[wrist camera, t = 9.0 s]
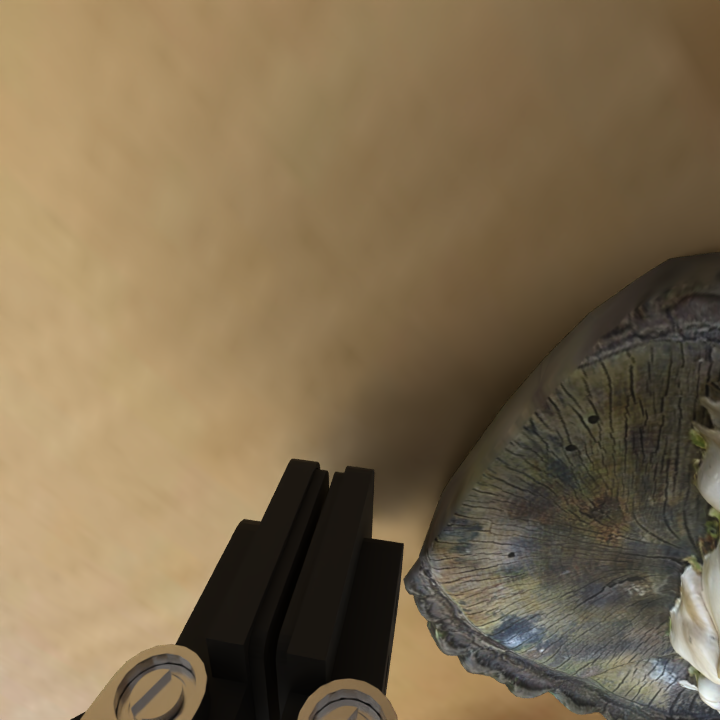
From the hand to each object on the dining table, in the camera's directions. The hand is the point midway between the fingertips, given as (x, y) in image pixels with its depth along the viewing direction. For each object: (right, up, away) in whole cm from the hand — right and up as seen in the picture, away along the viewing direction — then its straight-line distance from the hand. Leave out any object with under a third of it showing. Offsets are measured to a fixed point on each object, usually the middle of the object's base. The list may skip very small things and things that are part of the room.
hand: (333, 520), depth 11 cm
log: (+7, 0, 0) cm, 7 cm away
